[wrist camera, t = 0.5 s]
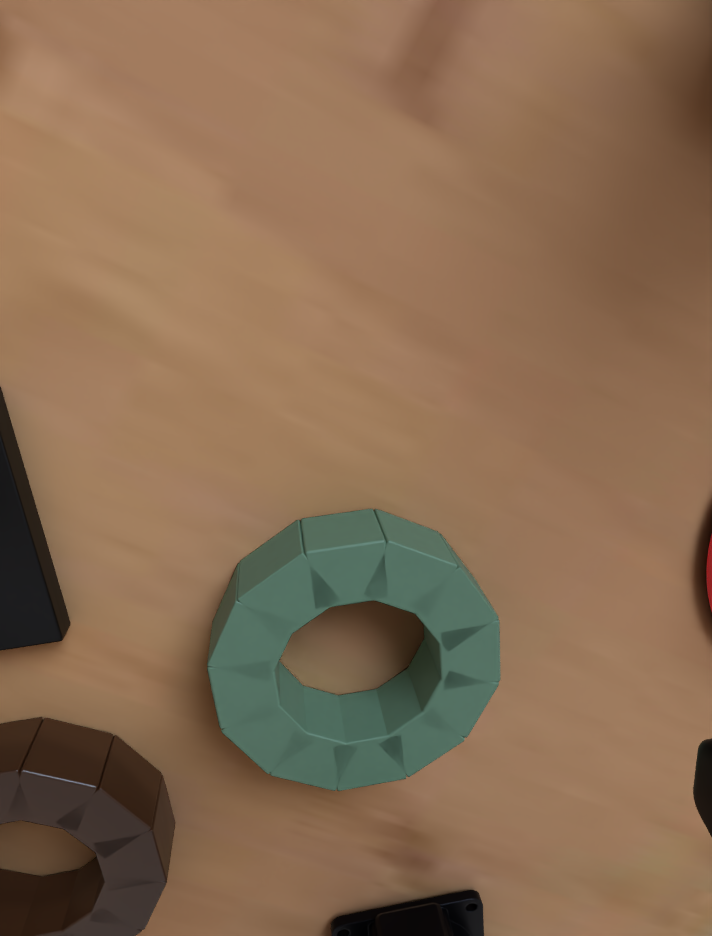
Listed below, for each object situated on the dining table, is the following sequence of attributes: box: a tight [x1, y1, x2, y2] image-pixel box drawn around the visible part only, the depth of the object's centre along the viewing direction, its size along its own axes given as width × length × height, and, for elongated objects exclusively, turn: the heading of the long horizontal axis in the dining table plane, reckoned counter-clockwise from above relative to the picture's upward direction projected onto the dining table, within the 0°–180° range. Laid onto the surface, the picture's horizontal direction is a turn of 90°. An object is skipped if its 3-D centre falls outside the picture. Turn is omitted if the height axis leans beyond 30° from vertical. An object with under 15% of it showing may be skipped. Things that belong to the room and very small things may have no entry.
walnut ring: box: [0, 717, 175, 936], centre depth 22 cm, size 9×9×2 cm
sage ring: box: [207, 509, 500, 791], centre depth 21 cm, size 9×9×2 cm
